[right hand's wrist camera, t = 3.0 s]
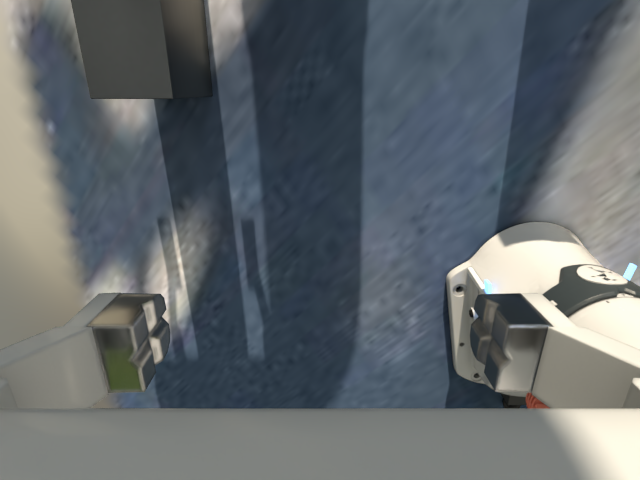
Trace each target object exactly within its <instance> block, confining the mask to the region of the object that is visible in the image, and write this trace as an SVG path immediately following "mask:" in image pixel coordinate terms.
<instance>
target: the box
mask: <svg viewBox="0 0 640 480" xmlns="http://www.w3.org/2000/svg"><path fill="white" fill-rule="evenodd" d="M71 3H72V8H73V13H74V18H75V23H76V28H77V33H78V38H79V43H80V48H81V53H82V58H83V62H84V67H85V72H86V77H87V82H88V87H89V92H90V97H91V99H177V98H193V97H208V96H213V94H212V83H211V73H210V62H209V51H208V41H207V30H206V19H205V9H204V0H71Z"/></svg>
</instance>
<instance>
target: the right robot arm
mask: <svg viewBox="0 0 640 480" xmlns="http://www.w3.org/2000/svg"><path fill="white" fill-rule="evenodd" d="M636 267H637V266H636V265H634V264H631V263H630V264H629V266H628V268H627V270H626V272H625V274H624V276H621V275H619V274H617V273H615V272H613V271H611V270H609V269H607V268H605V267H603V266H602V265H601V264H600V263H599V262H598V261H597V260H596V259H595V258H594V257H593V256H592V255H591V254H590V253H589V252H588V251H587V249H586V248H585V247H584V245H583V244H582V242H581V241H580V240H579V239H578V237H577V236H576V235H575V234H573V233H572V232H571V231H569V230H568V229H566V228H564V227H562V226H560V225H557V224H553V223H548V222H528V223H523V224H519V225H516V226H513V227H510V228H508V229H505V230H504V231H502V232H500V233H498V234H497V235H495V236H494V237H492V238H491V239H490V240H488V241H487V242H486V243H485V244H484V245H483V246H482V247H481V248H480V249H479V250H478V251H477V253H476V254H475V255H474V256H473V257H472V258H471V259H470V260H468V261H467V262H465V263H463V264H461V265H459V266H457V267H456V268H454V269H453V270H451V271H450V272H449V273H448V275H447V277H446V285H447V297H448V308H449V320H450V332H451V344H452V356H453V366H454V369H455V371H456V372H457V374H458V375H460V376H462V377H463V378H465V379H468V380H470V381H473V382H477V383H482V384H486V385H487V386H488V387H490V388H491V389H493V390H495V392H499V393H501V395H502V396H503V398H504V400H503V405H504V408H91V407H92V406H94V405H95V404H96V403H98V402H99V401H100V400H102V399H103V398H104V397H106V396H107V395H108V393H119V392H145V390H146V389H147V387H148V385H149V384H150V382H151V380H152V379H153V377H154V375H155V373H156V369H155V365H156V364H158V363H160V362H161V361H163V360H164V358H165V356H166V354H167V352H168V348H169V344H170V328H169V324H168V323H167V322H166V321H165V320H164V319H163V318H162V315H163V314H164V312H165V311H166V305H165V300H164V297H163V296H162V295H161V294H137V293H102V294H98V295H97V296H96V297H95V298H94V299H93V300H91V301H90V302H89V303H88V304H87V305H86V306H85V307H84V308H83V309H82V310H80V311H79V312H78V313H77V314H76V315H75V316H74V317H73V318H72V319H71V320H69V321H68V322H67V323H66V324H65V325H64V326H63V327H54V328H52V329H50V330H47V331H45V332H42V333H40V334H37V335H35V336H32V337H30V338H27V339H25V340H22V341H20V342H17V343H15V344H12V345H10V346H7V347H5V348H2V349H0V480H640V287H639V286H638V285H636V284H634V283H633V282H631V281H630V279H631V277H632V275H633V273H634V271H635V269H636ZM459 286H461V288H460V289H458V290H456V288H457V287H459ZM476 373H477V374H476ZM474 374H475V375H474ZM521 405H527V408H520V406H521Z"/></svg>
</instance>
